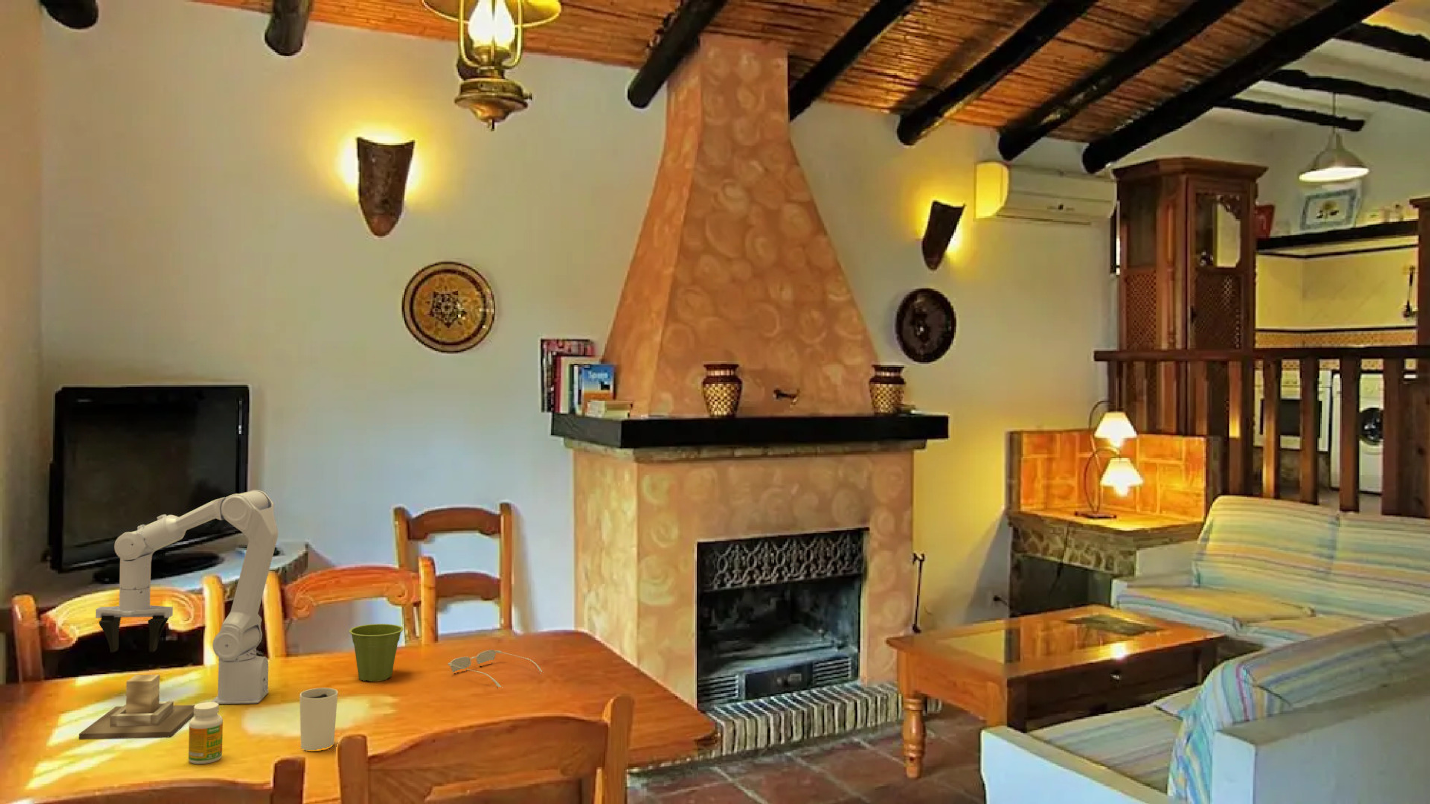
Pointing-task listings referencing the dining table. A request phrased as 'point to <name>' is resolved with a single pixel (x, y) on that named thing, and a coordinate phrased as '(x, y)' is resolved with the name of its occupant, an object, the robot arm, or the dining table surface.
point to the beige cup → (318, 718)
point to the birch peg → (142, 694)
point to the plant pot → (375, 650)
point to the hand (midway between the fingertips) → (133, 650)
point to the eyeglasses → (481, 657)
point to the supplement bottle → (205, 734)
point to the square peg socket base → (140, 722)
